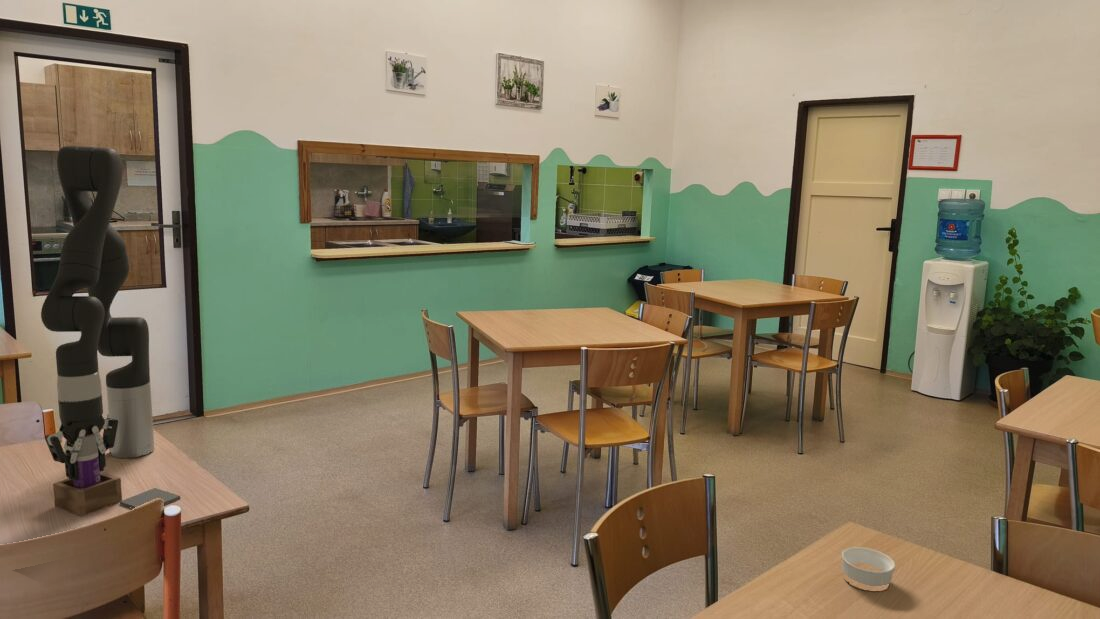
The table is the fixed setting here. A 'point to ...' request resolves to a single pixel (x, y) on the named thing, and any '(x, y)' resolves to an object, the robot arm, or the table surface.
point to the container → (87, 463)
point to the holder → (87, 495)
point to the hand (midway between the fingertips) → (86, 474)
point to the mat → (149, 498)
